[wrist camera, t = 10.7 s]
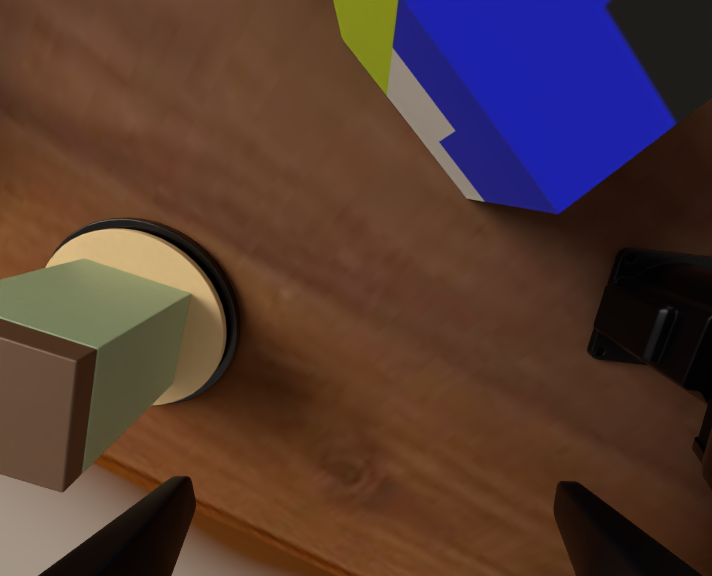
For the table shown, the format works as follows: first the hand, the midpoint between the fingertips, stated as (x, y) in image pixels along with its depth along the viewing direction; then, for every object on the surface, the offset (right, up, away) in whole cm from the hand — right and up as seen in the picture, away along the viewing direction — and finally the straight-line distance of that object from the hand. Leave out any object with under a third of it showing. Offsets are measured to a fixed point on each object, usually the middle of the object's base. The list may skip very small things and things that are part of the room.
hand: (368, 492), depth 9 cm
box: (-13, +3, +12) cm, 19 cm away
